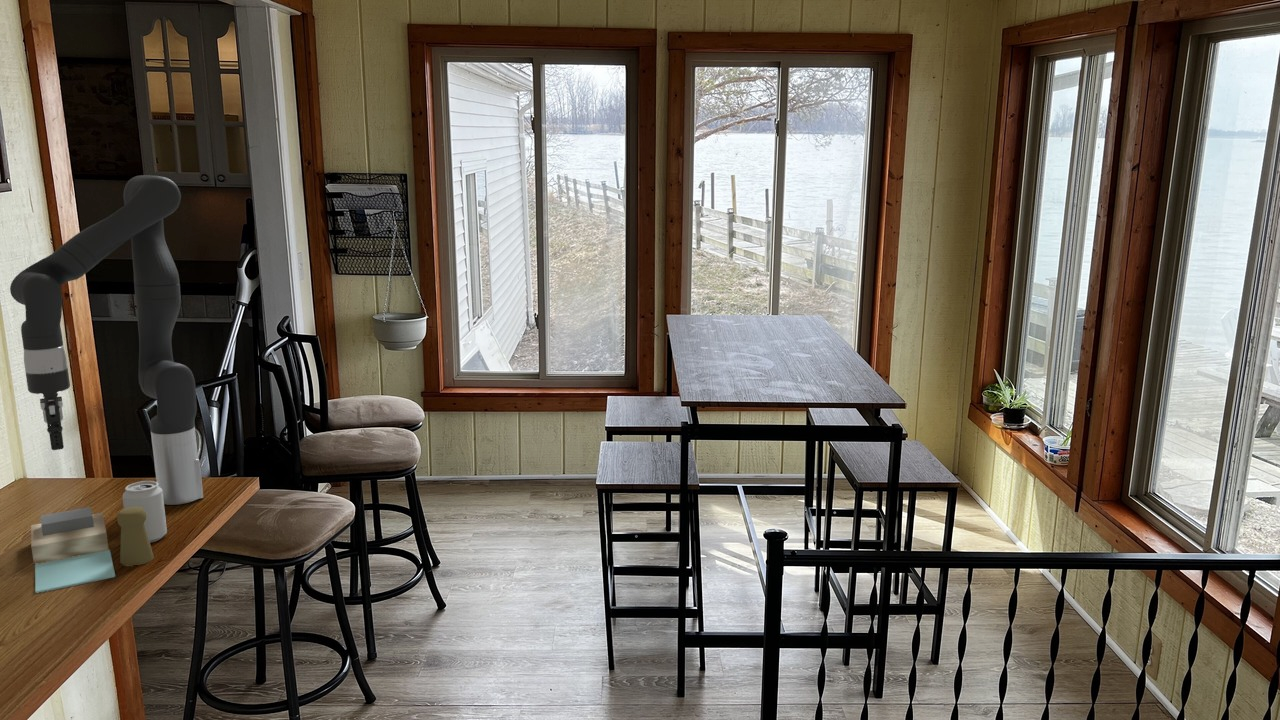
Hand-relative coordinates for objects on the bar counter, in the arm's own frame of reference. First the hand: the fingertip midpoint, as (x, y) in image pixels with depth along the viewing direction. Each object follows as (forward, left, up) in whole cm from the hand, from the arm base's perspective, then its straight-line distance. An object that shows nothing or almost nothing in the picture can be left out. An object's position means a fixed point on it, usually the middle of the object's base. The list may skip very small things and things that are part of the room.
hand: (57, 445), depth 198 cm
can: (-14, +14, -20) cm, 28 cm away
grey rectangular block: (0, +9, -14) cm, 17 cm away
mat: (0, +24, -19) cm, 31 cm away
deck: (0, +10, -19) cm, 22 cm away
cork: (-11, +25, -20) cm, 33 cm away
